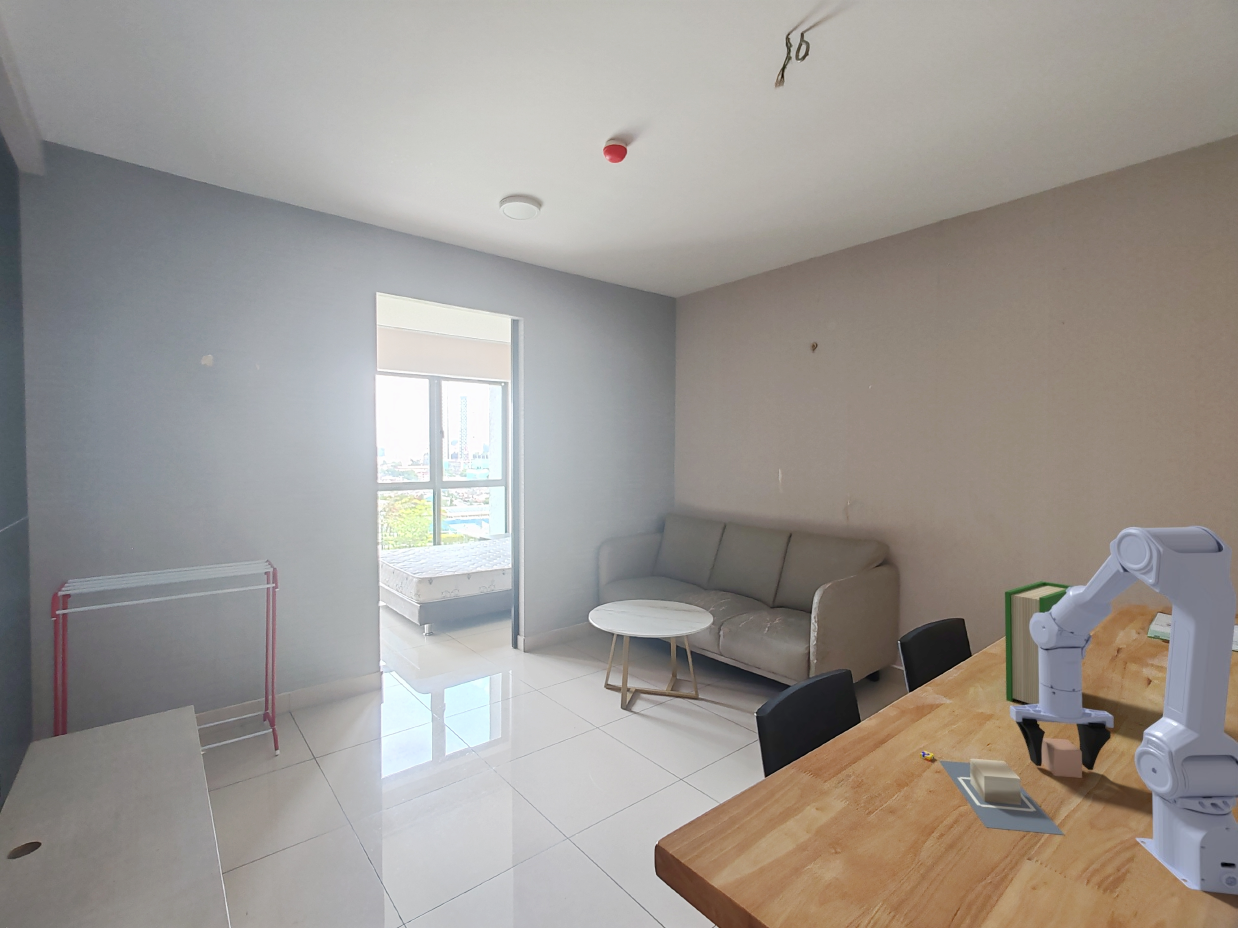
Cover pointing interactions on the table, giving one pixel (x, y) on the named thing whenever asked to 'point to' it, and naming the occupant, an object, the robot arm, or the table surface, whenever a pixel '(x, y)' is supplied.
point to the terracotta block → (1061, 757)
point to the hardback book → (1026, 637)
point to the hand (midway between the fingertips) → (1061, 764)
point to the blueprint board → (1001, 806)
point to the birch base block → (995, 781)
